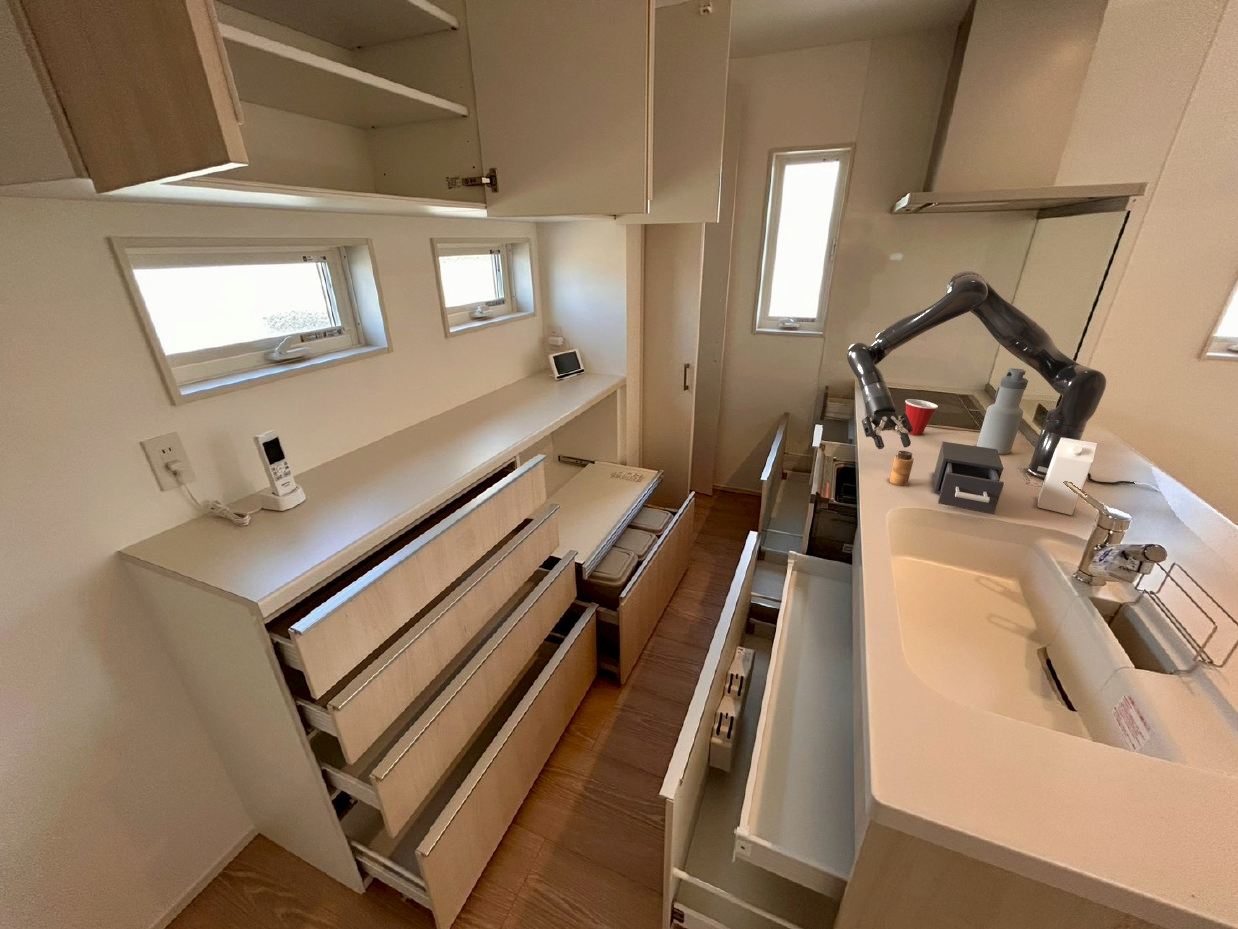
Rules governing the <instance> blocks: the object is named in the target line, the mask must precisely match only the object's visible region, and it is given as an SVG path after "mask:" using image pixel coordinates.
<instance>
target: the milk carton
mask: <svg viewBox="0 0 1238 929" xmlns="http://www.w3.org/2000/svg"><path fill="white" fill-rule="evenodd" d="M1097 446H1098V443H1097V442H1092V441H1086V440H1082V439H1081V440H1074V439H1068V438H1062V437H1061V439H1060V441H1059V443H1058V445H1057V447H1056V449H1055V452H1054V455H1053V458H1052V460H1051V463H1050V466H1049V469H1048V471H1047V474H1046V477H1045V479H1043V483H1042V486H1041V488H1040V491H1039V494H1038V496H1037V508H1040V509H1043V510H1047V511H1053V512H1056V513H1061V514H1065V515H1069V516H1072V515H1073V513H1074V511H1075V509H1076V505H1077V503H1078V500H1079V498H1080V495H1079V496H1078V494H1076V493H1074V492H1073V491H1072V490H1071V489H1070V488H1069V487H1067V486H1066V485H1065V484H1064V483H1063V482H1064V481H1068V482H1072V483H1073V485H1075V486H1076V487H1078V488H1079V489H1081V491H1083V487H1084V485H1085V483H1086V480H1087V479H1088V473H1090V470H1091V467H1092V465H1093V462H1094V458H1095V454H1096V450H1097Z"/></svg>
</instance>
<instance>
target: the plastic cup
mask: <svg viewBox="0 0 1238 929" xmlns="http://www.w3.org/2000/svg"><path fill="white" fill-rule="evenodd" d="M904 401H905V414H906V415H907V417H908V419H909V421H910V424H911V426H912V428H913V431H912V432H910V433H909V434H908V435H912V436H922V435H923V434H924V432H925V430H926V428H927V426H928V424H929V422H930V420H931V418H932V416H933V414H934V412H935V411H936V409H938V407H939V406H938V404H935V402H934V403H933V402H930V401H926V400H922V399H913V398H908V399H905V400H904ZM907 429H908V428H907Z"/></svg>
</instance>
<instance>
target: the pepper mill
mask: <svg viewBox="0 0 1238 929" xmlns="http://www.w3.org/2000/svg"><path fill="white" fill-rule="evenodd" d="M897 452H898V453H897V454H896V455H894V459H893V463H892V467H891V468H892V469H891V472H890V477H889V483H891V484H892V485H896V486H899V487H904V486H905V487H906V486H908V484H909V481H910V476H911V472H912V468H913V464H914V460H915V459H914V457H913V453H912V452H911V451H907V450H898V451H897Z"/></svg>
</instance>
